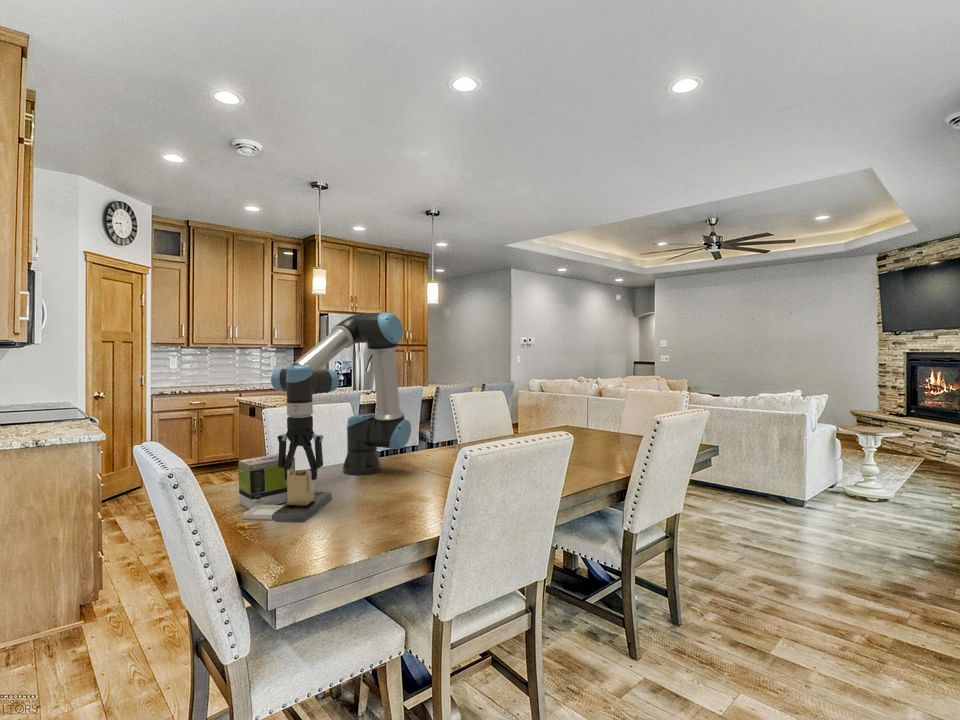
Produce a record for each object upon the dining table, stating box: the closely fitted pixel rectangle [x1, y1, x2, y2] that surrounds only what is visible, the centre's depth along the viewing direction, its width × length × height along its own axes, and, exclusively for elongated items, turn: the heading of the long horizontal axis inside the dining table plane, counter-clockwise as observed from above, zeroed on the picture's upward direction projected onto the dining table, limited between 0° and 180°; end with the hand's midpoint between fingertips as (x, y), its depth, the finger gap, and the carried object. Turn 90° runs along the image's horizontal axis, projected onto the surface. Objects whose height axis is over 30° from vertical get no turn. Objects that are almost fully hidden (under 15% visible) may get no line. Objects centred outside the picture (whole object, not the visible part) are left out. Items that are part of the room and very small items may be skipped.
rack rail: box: [273, 491, 333, 523], centre depth 164 cm, size 22×9×3 cm, turn 175°
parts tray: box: [242, 504, 285, 521], centre depth 159 cm, size 9×9×2 cm
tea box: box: [238, 453, 296, 510], centre depth 171 cm, size 15×10×15 cm
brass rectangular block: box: [287, 469, 316, 505], centre depth 161 cm, size 6×6×10 cm
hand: (301, 489), depth 161 cm, fingers closed on brass rectangular block, 6 cm apart
